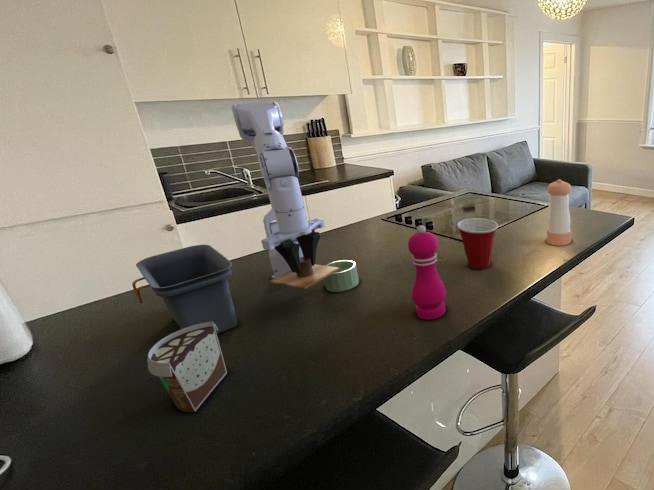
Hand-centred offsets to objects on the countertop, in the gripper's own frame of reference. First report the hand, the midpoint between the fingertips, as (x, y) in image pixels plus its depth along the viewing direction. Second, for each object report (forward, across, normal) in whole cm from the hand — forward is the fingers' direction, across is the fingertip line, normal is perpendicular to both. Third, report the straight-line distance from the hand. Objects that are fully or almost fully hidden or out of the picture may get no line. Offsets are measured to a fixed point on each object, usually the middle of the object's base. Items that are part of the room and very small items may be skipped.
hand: (303, 268), depth 90 cm
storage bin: (+10, -14, +18) cm, 25 cm away
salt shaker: (+10, +56, -43) cm, 71 cm away
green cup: (+10, +11, +2) cm, 15 cm away
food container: (+10, -29, -2) cm, 30 cm away
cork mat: (+2, 0, 0) cm, 2 cm away
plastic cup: (+10, +32, -27) cm, 44 cm away
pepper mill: (+10, +6, -27) cm, 30 cm away
